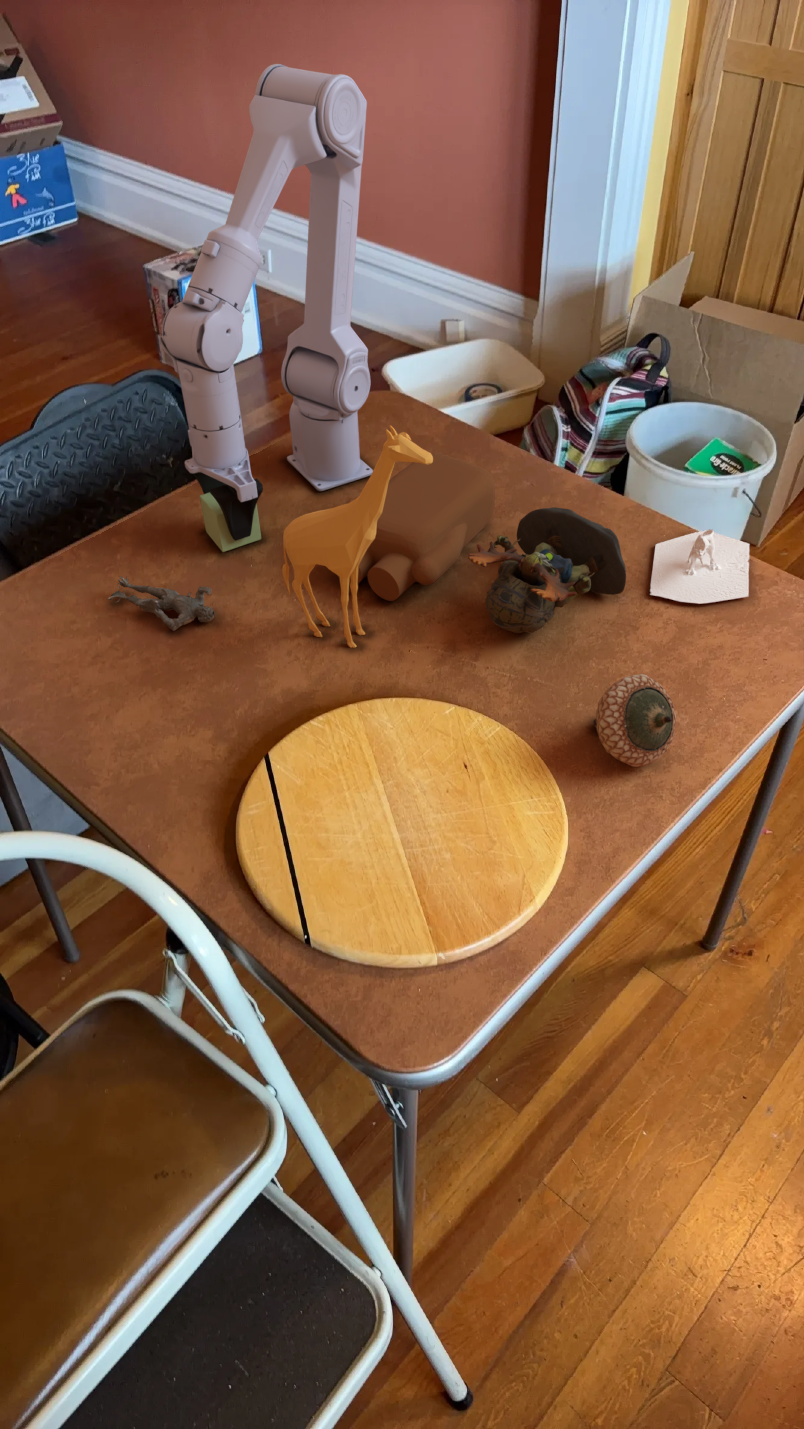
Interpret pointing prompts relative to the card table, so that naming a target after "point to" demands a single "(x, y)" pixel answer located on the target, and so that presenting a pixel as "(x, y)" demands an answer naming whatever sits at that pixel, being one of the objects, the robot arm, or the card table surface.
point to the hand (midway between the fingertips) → (231, 525)
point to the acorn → (635, 720)
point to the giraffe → (345, 533)
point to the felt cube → (224, 525)
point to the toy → (426, 523)
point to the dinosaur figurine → (701, 568)
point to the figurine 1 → (169, 603)
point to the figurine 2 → (550, 567)
